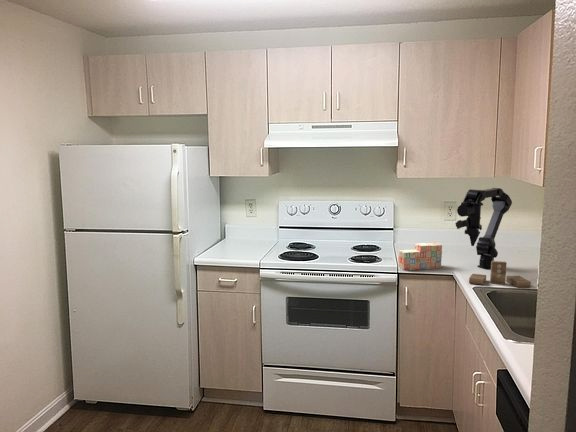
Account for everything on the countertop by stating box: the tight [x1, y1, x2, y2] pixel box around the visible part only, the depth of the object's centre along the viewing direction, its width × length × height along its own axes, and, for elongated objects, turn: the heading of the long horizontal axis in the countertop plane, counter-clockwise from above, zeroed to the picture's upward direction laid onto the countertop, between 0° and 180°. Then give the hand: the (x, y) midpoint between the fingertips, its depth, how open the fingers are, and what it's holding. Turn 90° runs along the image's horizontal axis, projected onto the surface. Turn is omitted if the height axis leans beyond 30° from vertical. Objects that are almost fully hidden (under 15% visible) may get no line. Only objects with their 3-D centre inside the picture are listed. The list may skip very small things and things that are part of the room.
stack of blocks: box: [397, 242, 443, 271], centre depth 248 cm, size 21×6×12 cm, turn 104°
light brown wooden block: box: [489, 260, 507, 285], centre depth 219 cm, size 3×6×10 cm, turn 77°
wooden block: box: [468, 273, 487, 286], centre depth 222 cm, size 3×6×10 cm
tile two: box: [505, 275, 532, 288], centre depth 218 cm, size 3×6×10 cm
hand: (472, 245), depth 239 cm, fingers closed
